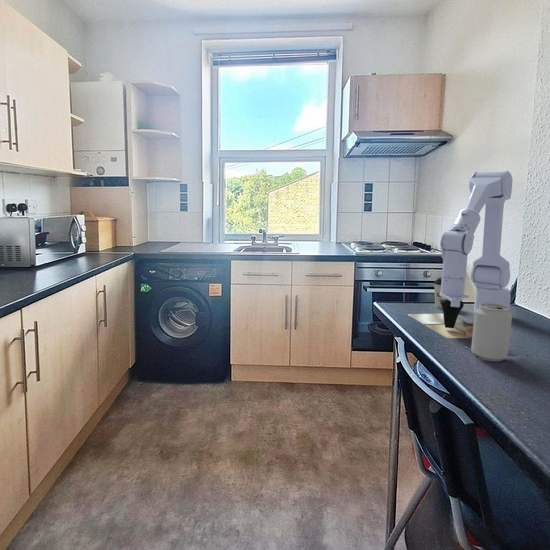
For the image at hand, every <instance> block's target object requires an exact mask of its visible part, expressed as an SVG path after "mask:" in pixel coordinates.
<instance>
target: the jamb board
mask: <svg viewBox="0 0 550 550" xmlns="http://www.w3.org/2000/svg"><path fill="white" fill-rule="evenodd" d="M406 315H408V316H409V317H410V318H412V319H414V320H416V321H417V322H418V323H421V324H423V325H424V326H425V327H428V328H429V329H431V330H432V331H434V332H435V333H437V334H438V335H440V336H442V337H444V338H445V339H446V340H447V339H448V340H449V339H472V335H473V326H466V333H465V332H463V331H461V330H459V329H457V328H456V327H454V328H445V325H444V317H443V313H408V314H407V313H406Z"/></svg>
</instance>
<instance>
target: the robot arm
mask: <svg viewBox="0 0 550 550" xmlns="http://www.w3.org/2000/svg"><path fill="white" fill-rule="evenodd" d="M468 185H469V186H468V188H469V193H470V194H469V198H468V200H467V203H466V205H465V208H463V209H461V210H460V211H459V212H458V213H457V214H456V218H455V219H454V221H453V223H452V225H451V227H450V229H449V230H447V231H445V232H444V233H443V234H442V236H441V240H440V251H441V259H443V260H442V270H441V271H442V272H441V278H442V281H441V292H440V296H441V297H443V298H445V299H446V300H439V301H440V303H441V306H442V308H441V309H442V314H443V317H444V325H445V328H454V326H455V323H456V320H457V317H458V315H460V313H461V311H462V309H463V308H464V306H465V305H464V303H463V300H464V299H466V298H467V299H468V298H470V295H469V294H468V293H465V287H466V276H467V263H468V254H470V253H471V251H472V250H473V244H474V239H475V235H474V234H475V232H476V230H477V228H478V226H479V224H480V222H481V216H480V212H481V210H482V209H483V207H484V206H485V208H484V222H483V223H484V224H483V237H482V238H483V239H482V253H481V255H480V256H479V257H477V258H476V259H474V261H473V262H472V268H471V271H470V280H471V283H473V286H474V287H475V296H474V305H473V312H474V313H475V310H476V309H477V308H479V304H481V303H495V304H501V305H505V306H508V307H509V308H510V306H511V299H512V296H511V292H510V289H508V288H507V286H508V285H509V283H510V279H511V269H510V267H511V266H510V264H511V263H510V262H509V261H508V260H507V259H505V258H504V257H503V256H502V255H501V245H502V231H503V220H504V209H505V208H504V207H505V202H506V201H508V200H510V199H511V197H512V191H513V177H512V173H511V172H510V171H508V170H505V171H484V172H483V171H481V172H480V171H479V172H478V171H474V172H473V173H472V174H471V175H470V178H469V182H468ZM510 309H511V308H510Z"/></svg>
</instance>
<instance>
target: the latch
mask: <svg viewBox="0 0 550 550" xmlns="http://www.w3.org/2000/svg"><path fill="white" fill-rule="evenodd" d="M473 325H474V320H471V319H469V318H467V317H465V316H463V315H460V314H458V317H457V320H456V323H455V326H454V327H456V328H457V329H459V330H461V331H463V332H465V333H466V326H473Z"/></svg>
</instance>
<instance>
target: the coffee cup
mask: <svg viewBox="0 0 550 550" xmlns="http://www.w3.org/2000/svg"><path fill="white" fill-rule="evenodd" d="M441 281H442V277H437V279H435V280H434V281H433V285H434V286H433V288H434V306H435V308H437V309H442V306H441V303H440V301H439V300H446V299H445V298H443V297H441V296H440V292H441Z"/></svg>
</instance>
